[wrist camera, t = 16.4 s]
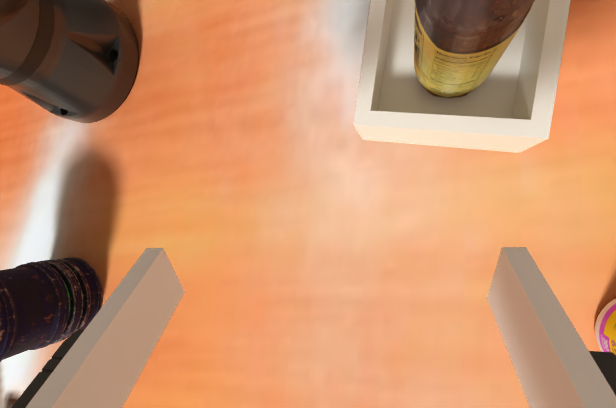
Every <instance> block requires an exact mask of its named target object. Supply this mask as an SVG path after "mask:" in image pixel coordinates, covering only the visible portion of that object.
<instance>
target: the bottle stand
mask: <svg viewBox="0 0 616 408" xmlns="http://www.w3.org/2000/svg"><path fill="white" fill-rule="evenodd" d="M570 2H571V0H535V1H534V3H533V4H532V7H531V9H530V12H529V13H528V15H527V17H526V18H525V20H524V22H523V24H522V25H521V27H520V28H519V30H518V32H517V33H516V35H515V36H514V38H513V39H512V41H511V42H510V44H509V45H508V47H507V49H506V50H505V52H504V53H503V55H502V56H501V58H500V59H499V61H498V62H497V64H496V65H495V67H494V68H493V70H492V72H491V73H490V75H489V76H488V77H487V79H486V80H485V81H484V82H483V83H482V84H481V85H479V86H478V87H477V88H476V89H474V90H473V91H471V92H470V93H468V94H467V95H466V96H463V97H459V98H458V97H456V98H441V97H436V96H433V95H431V94H430V93H429V92H428V91H427V90H425V88H424V87H423V86H422V85H421V83H420V82H419V80H418V78H417V76H416V73H415V69H414V30H415V29H414V24H415V0H371V1H370V8H369V15H368V22H367V29H366V37H365V44H364V51H363V58H362V65H361V72H360V79H359V86H358V93H357V101H356V108H355V115H354V122H353V126H354V127H355V129H356V130H357V132H358V133H359V135H360V136H361V138H362V139H363V140H372V141H384V142H396V143H408V144H420V145H432V146H444V147H456V148H468V149H480V150H492V151H504V152H516V153H520V152H522V151H524V150H526V149H528V148H530V147H532V146H534V145H536V144H539V143H541V142H543V141H545V140H547V139H549V132H550V126H551V120H552V114H553V108H554V101H555V95H556V89H557V83H558V76H559V70H560V64H561V58H562V51H563V45H564V39H565V33H566V26H567V20H568V14H569V8H570Z"/></svg>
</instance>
